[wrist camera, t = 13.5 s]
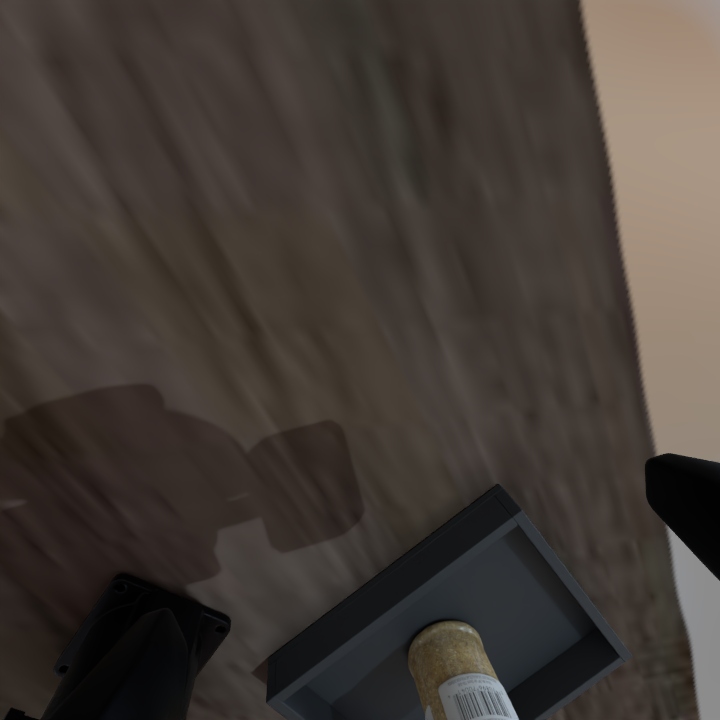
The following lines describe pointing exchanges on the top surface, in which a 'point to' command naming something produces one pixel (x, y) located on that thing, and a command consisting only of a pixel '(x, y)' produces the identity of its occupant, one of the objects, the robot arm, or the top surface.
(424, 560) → the tray
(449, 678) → the sprinkles bottle
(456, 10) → the top surface
